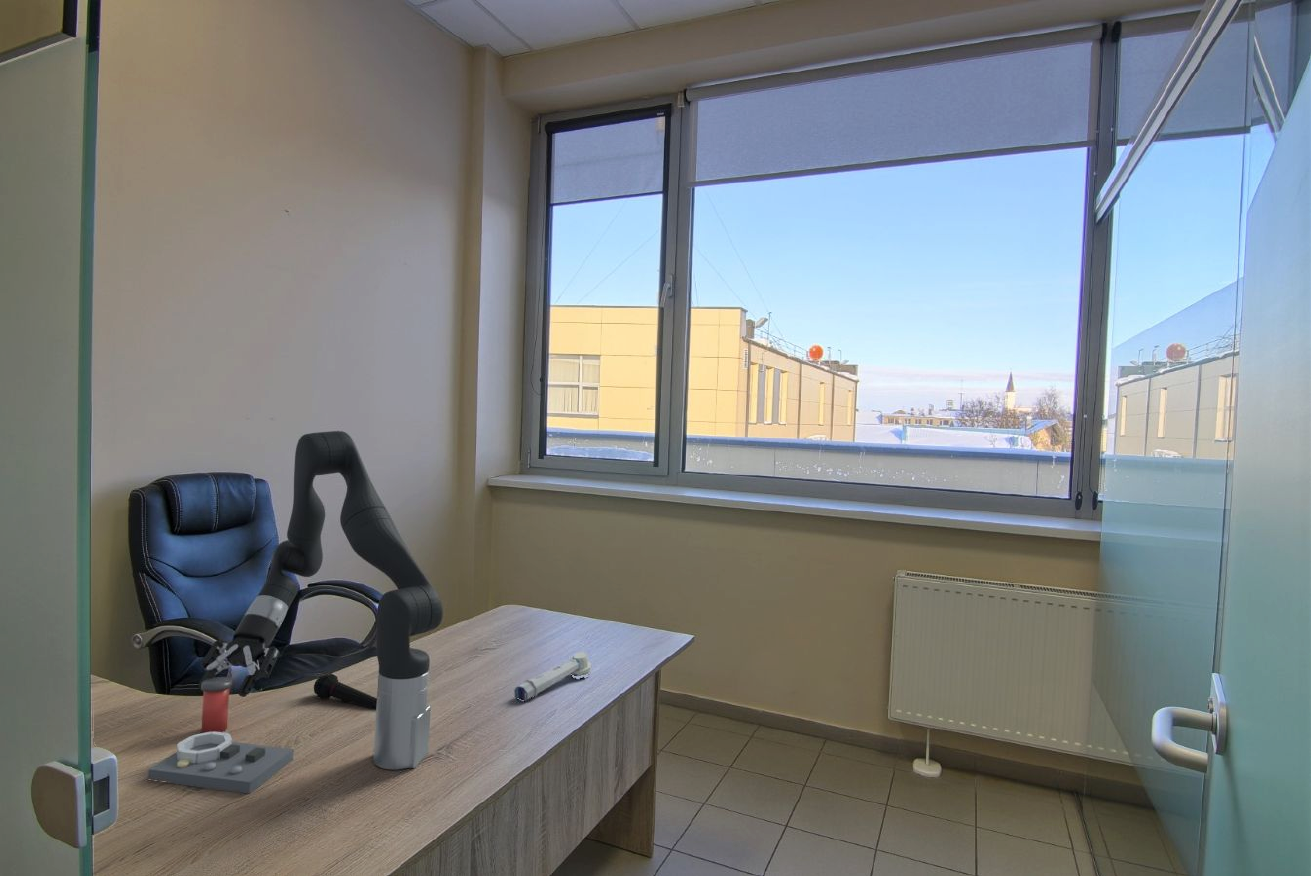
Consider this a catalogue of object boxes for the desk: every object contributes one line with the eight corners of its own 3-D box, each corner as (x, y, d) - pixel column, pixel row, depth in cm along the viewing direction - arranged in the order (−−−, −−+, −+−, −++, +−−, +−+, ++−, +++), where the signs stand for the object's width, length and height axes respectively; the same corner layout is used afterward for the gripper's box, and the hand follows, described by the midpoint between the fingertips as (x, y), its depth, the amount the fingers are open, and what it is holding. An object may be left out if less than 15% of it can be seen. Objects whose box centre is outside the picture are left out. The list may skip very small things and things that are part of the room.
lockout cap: (235, 726, 142) (237, 678, 141) (216, 737, 136) (219, 688, 136) (211, 723, 142) (214, 675, 142) (192, 734, 137) (195, 685, 137)
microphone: (392, 721, 156) (320, 695, 161) (401, 695, 157) (329, 670, 162) (378, 723, 150) (304, 696, 156) (388, 696, 152) (314, 670, 157)
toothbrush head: (511, 683, 165) (579, 644, 185) (512, 709, 166) (580, 668, 186) (527, 689, 162) (595, 649, 182) (528, 715, 163) (595, 673, 183)
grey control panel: (292, 759, 130) (294, 739, 130) (249, 793, 118) (250, 771, 118) (199, 748, 132) (200, 728, 132) (147, 780, 120) (148, 759, 120)
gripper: (224, 609, 150) (179, 681, 139) (285, 616, 148) (245, 689, 137) (239, 626, 155) (198, 696, 144) (299, 632, 154) (262, 704, 143)
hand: (221, 692), depth 141 cm, fingers open, 8 cm apart
